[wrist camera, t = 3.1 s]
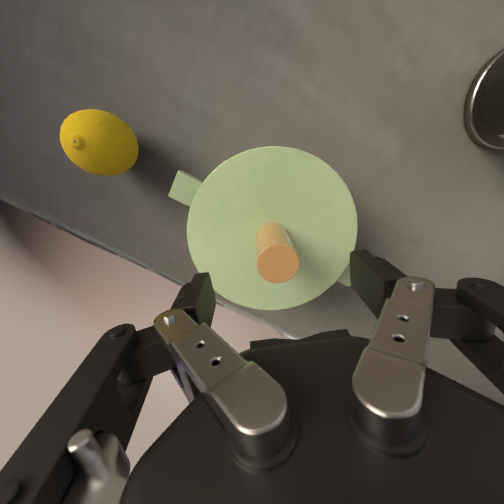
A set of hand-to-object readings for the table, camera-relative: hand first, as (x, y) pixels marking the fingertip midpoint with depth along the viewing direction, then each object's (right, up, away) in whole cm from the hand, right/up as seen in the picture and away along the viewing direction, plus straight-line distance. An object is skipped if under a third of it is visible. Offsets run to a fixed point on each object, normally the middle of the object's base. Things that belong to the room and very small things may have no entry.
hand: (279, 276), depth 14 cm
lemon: (-15, +13, +13) cm, 24 cm away
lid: (0, +3, +8) cm, 8 cm away
